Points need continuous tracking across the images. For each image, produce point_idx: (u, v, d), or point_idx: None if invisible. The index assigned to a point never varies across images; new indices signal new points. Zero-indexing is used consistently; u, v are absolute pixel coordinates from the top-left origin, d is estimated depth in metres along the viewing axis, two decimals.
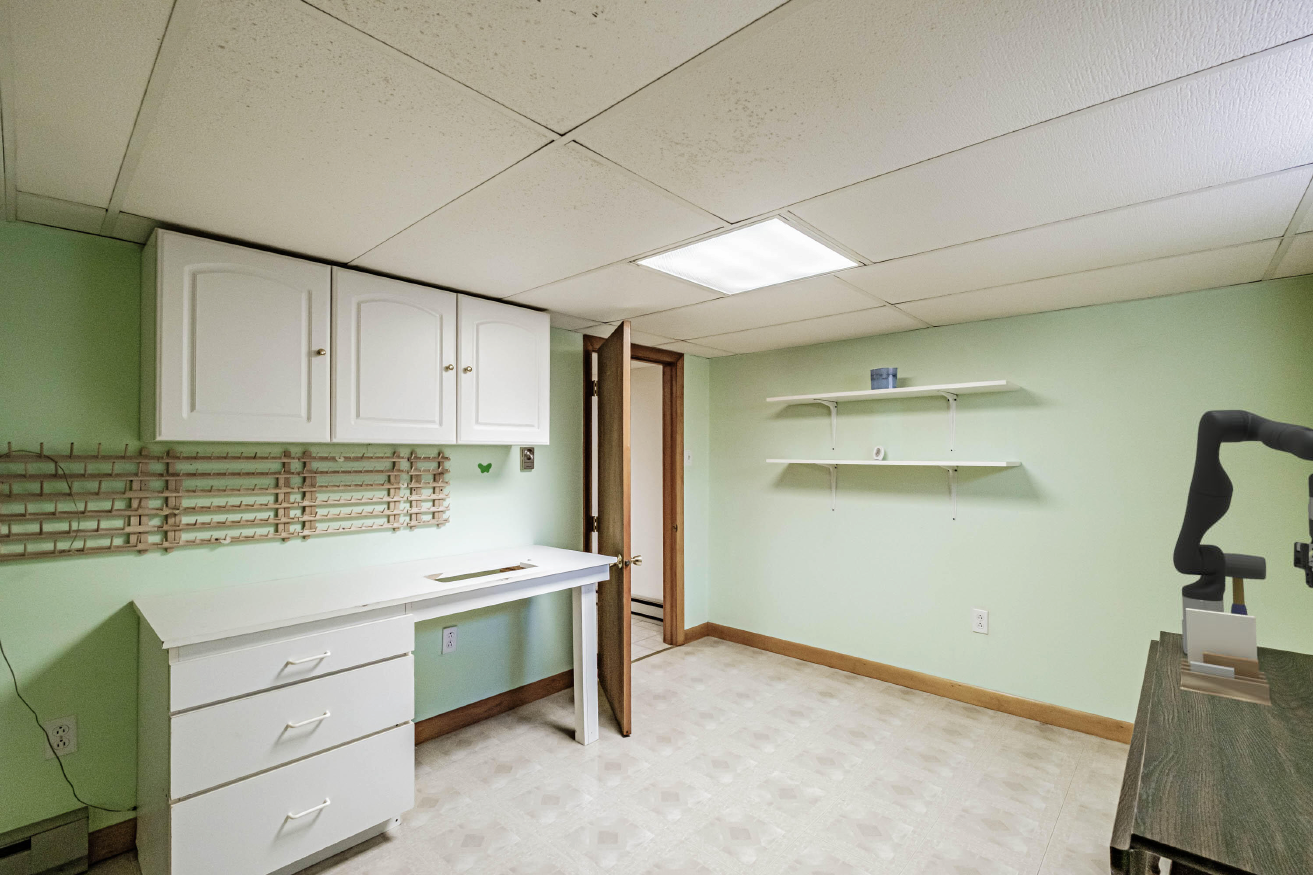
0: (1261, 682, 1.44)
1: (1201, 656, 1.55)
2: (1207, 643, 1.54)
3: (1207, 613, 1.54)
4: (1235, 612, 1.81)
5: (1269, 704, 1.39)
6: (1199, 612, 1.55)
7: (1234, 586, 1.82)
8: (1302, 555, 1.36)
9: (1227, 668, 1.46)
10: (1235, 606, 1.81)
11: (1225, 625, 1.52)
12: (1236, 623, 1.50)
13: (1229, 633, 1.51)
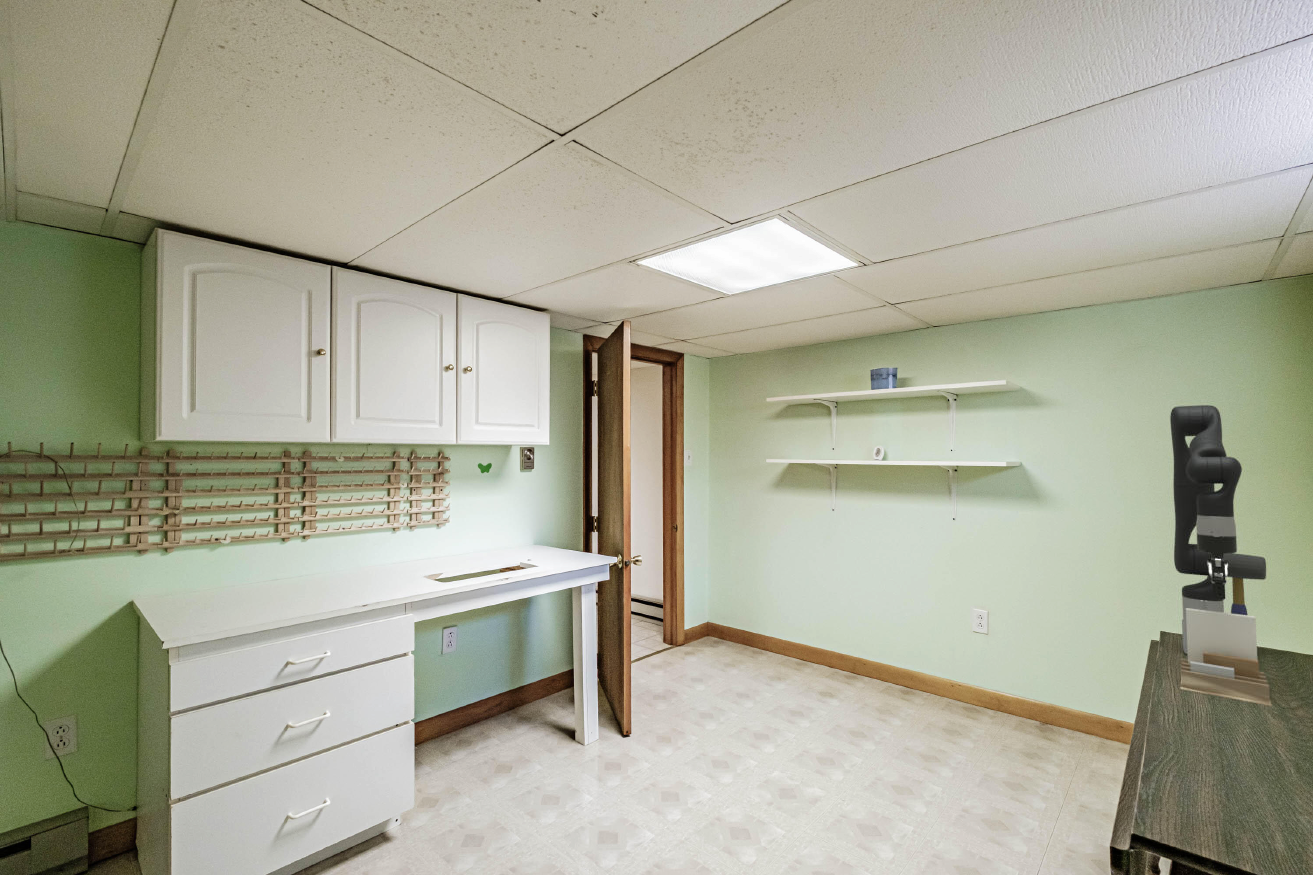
0: (1261, 682, 1.44)
1: (1201, 656, 1.55)
2: (1207, 643, 1.54)
3: (1207, 613, 1.54)
4: (1235, 612, 1.81)
5: (1269, 704, 1.39)
6: (1199, 612, 1.55)
7: (1234, 586, 1.82)
8: (1225, 571, 1.48)
9: (1227, 668, 1.46)
10: (1235, 606, 1.81)
11: (1225, 625, 1.52)
12: (1236, 623, 1.50)
13: (1229, 633, 1.51)
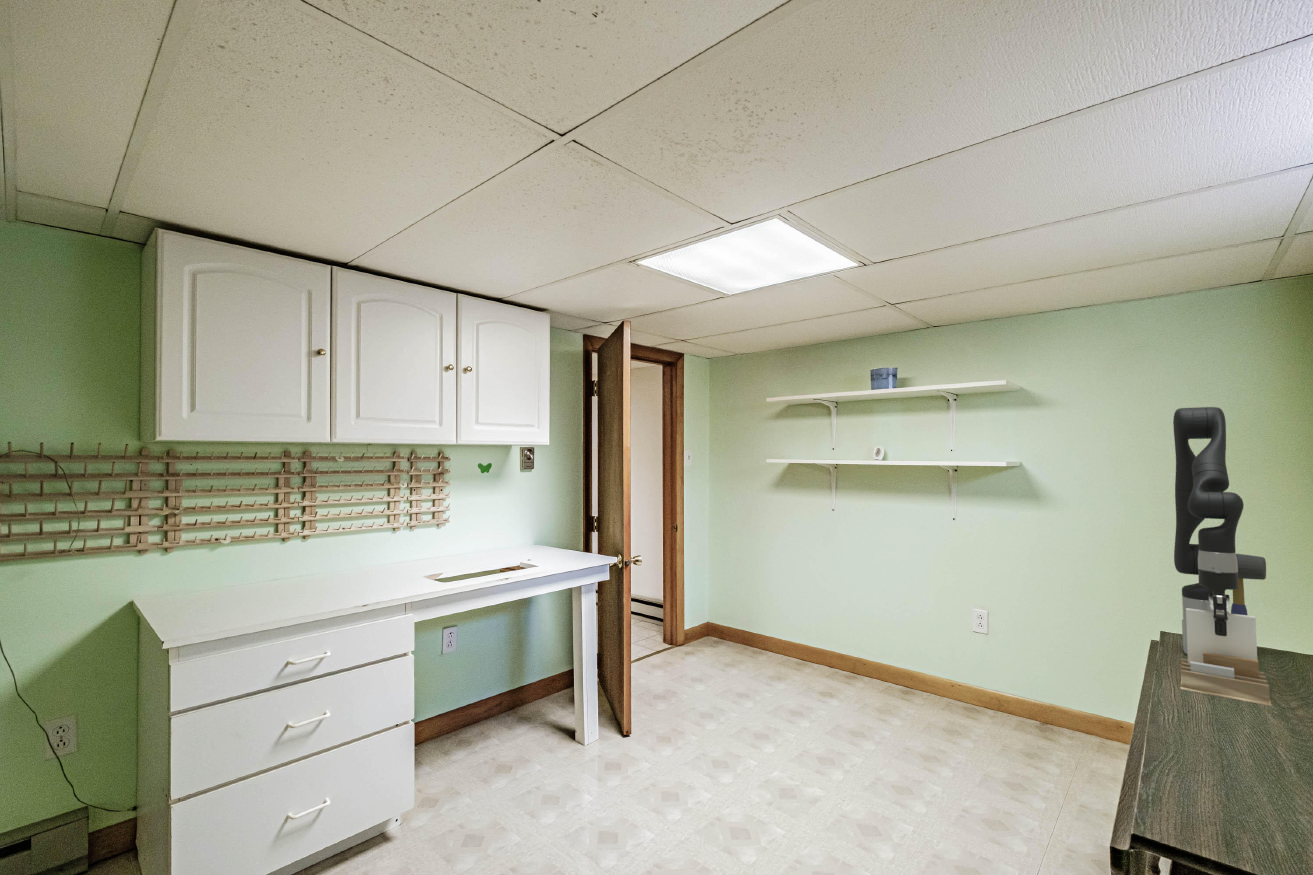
0: (1261, 682, 1.44)
1: (1201, 656, 1.55)
2: (1207, 643, 1.54)
3: (1207, 613, 1.54)
4: (1235, 612, 1.81)
5: (1269, 704, 1.39)
6: (1199, 612, 1.55)
7: None
8: (1226, 608, 1.47)
9: (1227, 668, 1.46)
10: (1235, 606, 1.81)
11: None
12: (1236, 623, 1.50)
13: (1229, 633, 1.51)
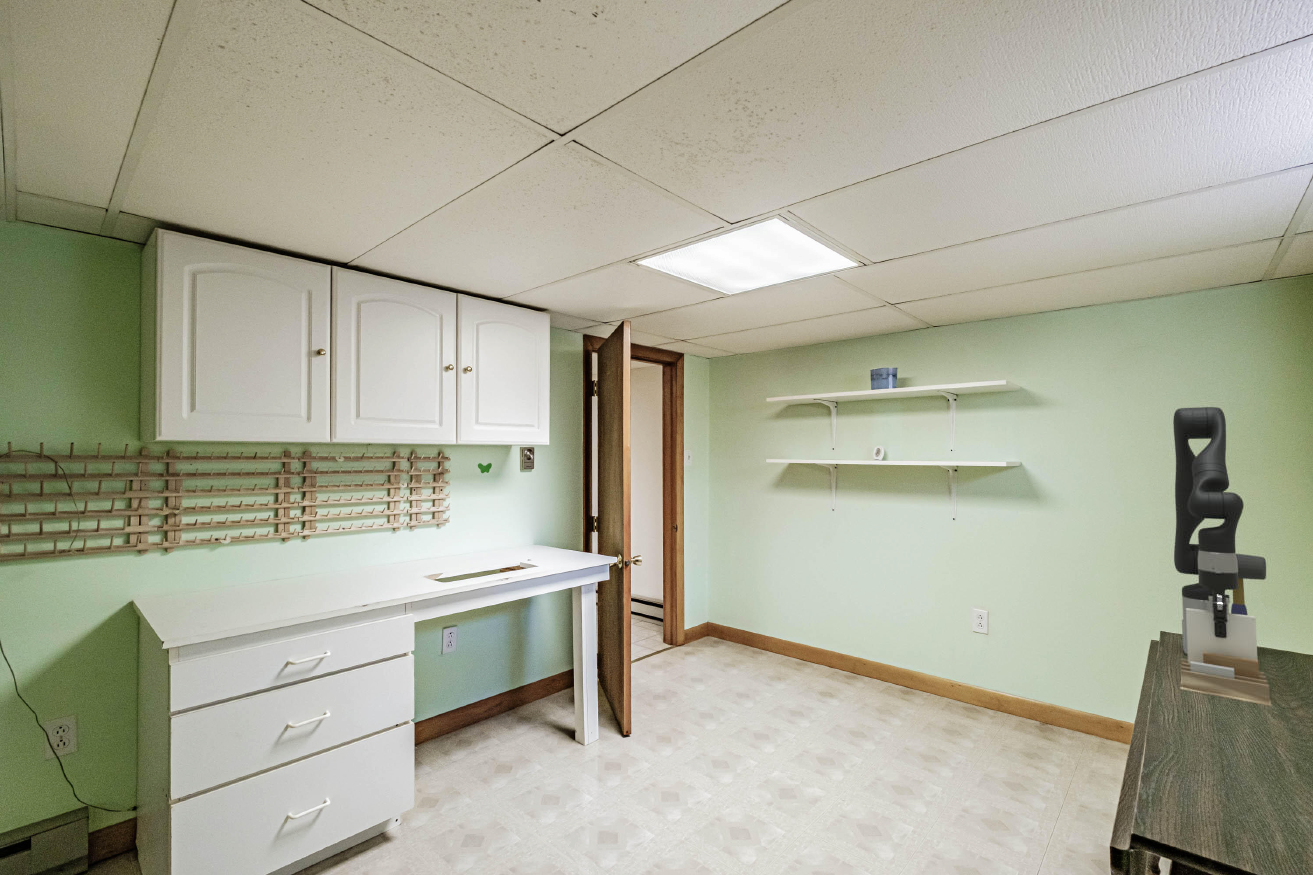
0: (1261, 682, 1.44)
1: (1201, 656, 1.55)
2: (1207, 643, 1.54)
3: (1207, 613, 1.54)
4: (1235, 612, 1.81)
5: (1269, 704, 1.39)
6: (1199, 612, 1.55)
7: None
8: (1226, 614, 1.49)
9: (1227, 668, 1.46)
10: (1235, 606, 1.81)
11: None
12: (1236, 623, 1.50)
13: (1229, 633, 1.51)
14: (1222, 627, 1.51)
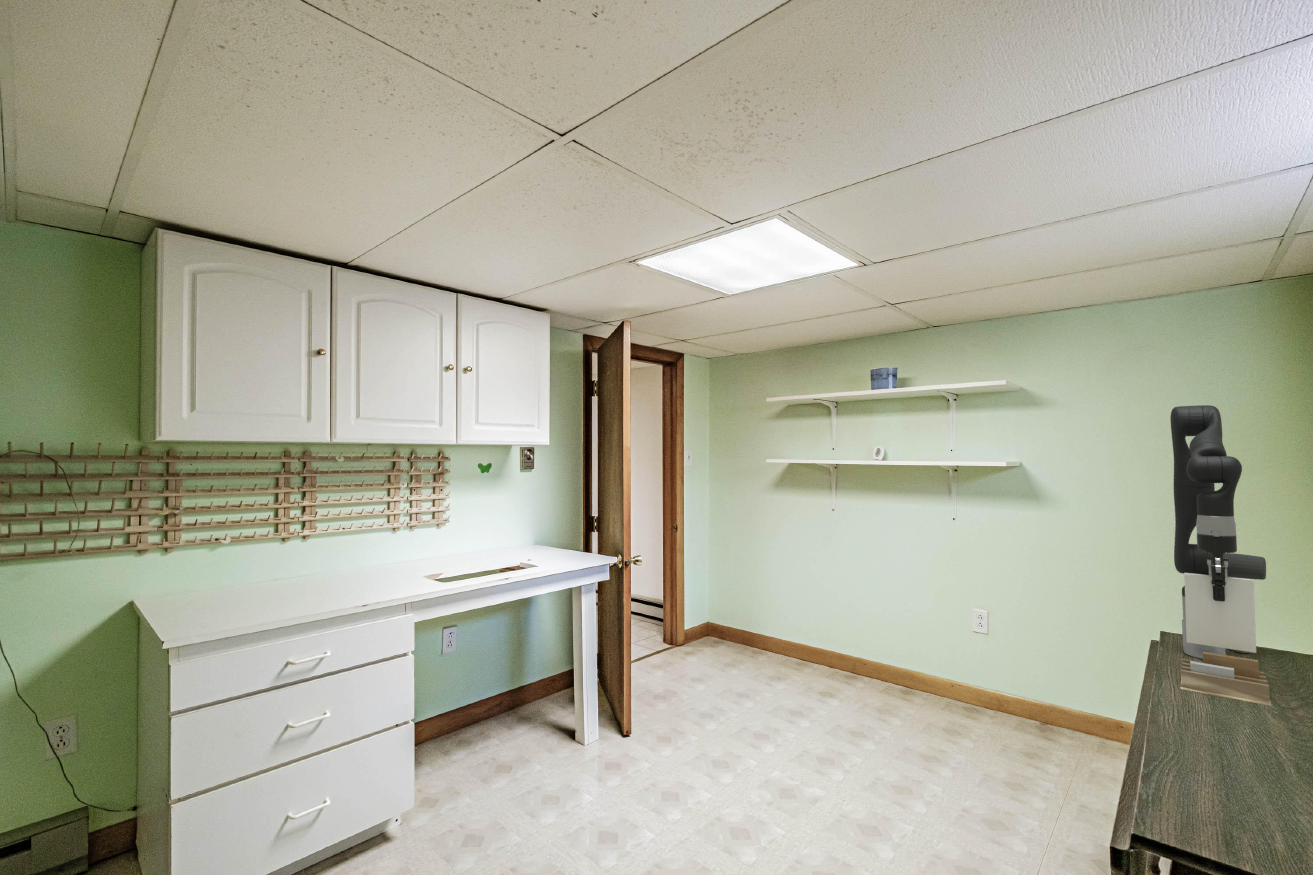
0: (1261, 682, 1.44)
1: (1199, 620, 1.55)
2: (1205, 607, 1.54)
3: (1205, 577, 1.55)
4: None
5: (1269, 704, 1.39)
6: (1197, 576, 1.56)
7: None
8: (1225, 576, 1.49)
9: (1227, 668, 1.46)
10: None
11: None
12: (1234, 586, 1.51)
13: (1227, 597, 1.52)
14: (1220, 590, 1.52)
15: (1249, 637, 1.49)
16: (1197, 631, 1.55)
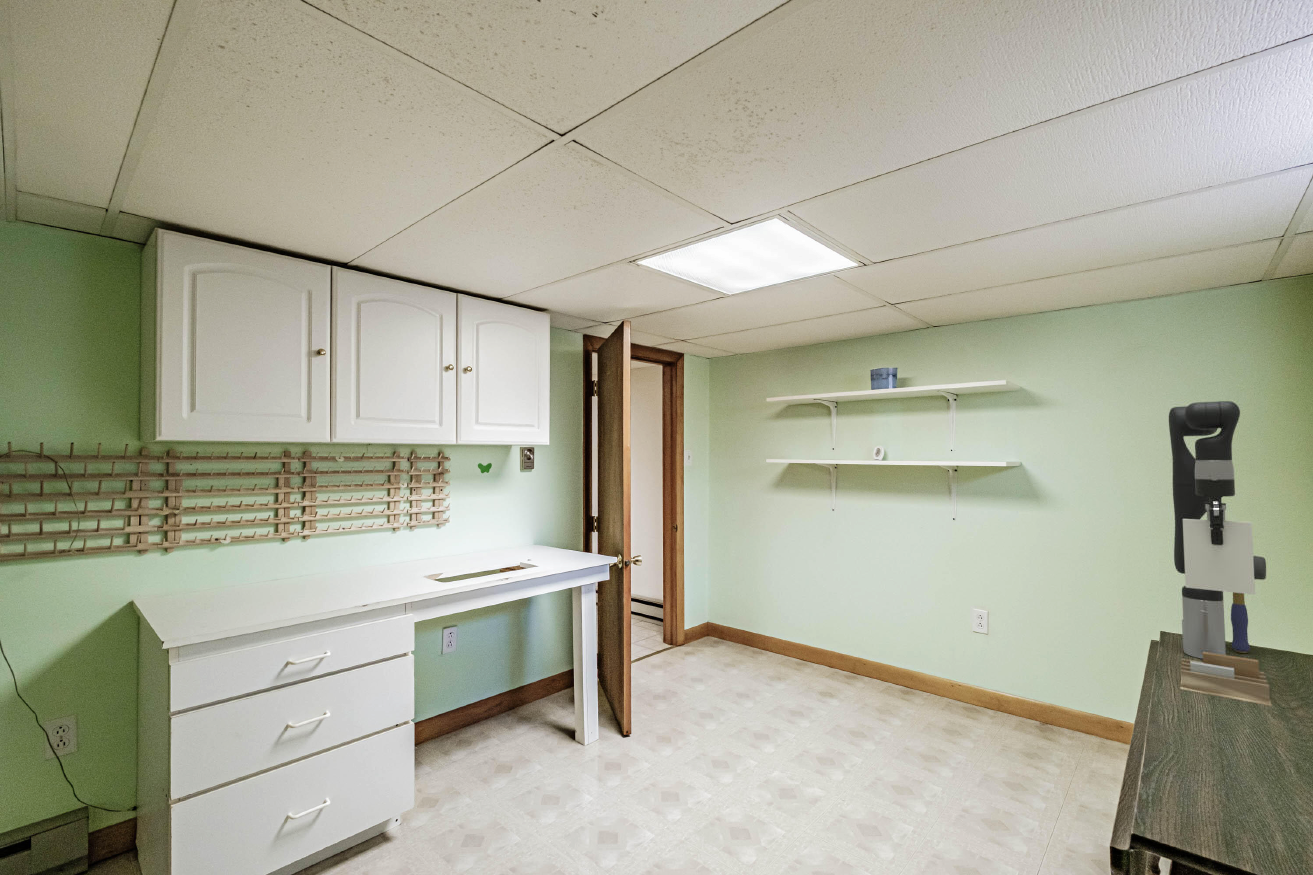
0: (1261, 682, 1.44)
1: (1198, 564, 1.56)
2: (1204, 551, 1.55)
3: (1204, 521, 1.55)
4: (1235, 612, 1.81)
5: (1269, 704, 1.39)
6: (1196, 521, 1.56)
7: None
8: (1223, 519, 1.50)
9: (1227, 668, 1.46)
10: (1235, 606, 1.81)
11: None
12: (1232, 529, 1.52)
13: (1226, 540, 1.52)
14: (1218, 534, 1.52)
15: (1248, 579, 1.50)
16: (1196, 576, 1.56)
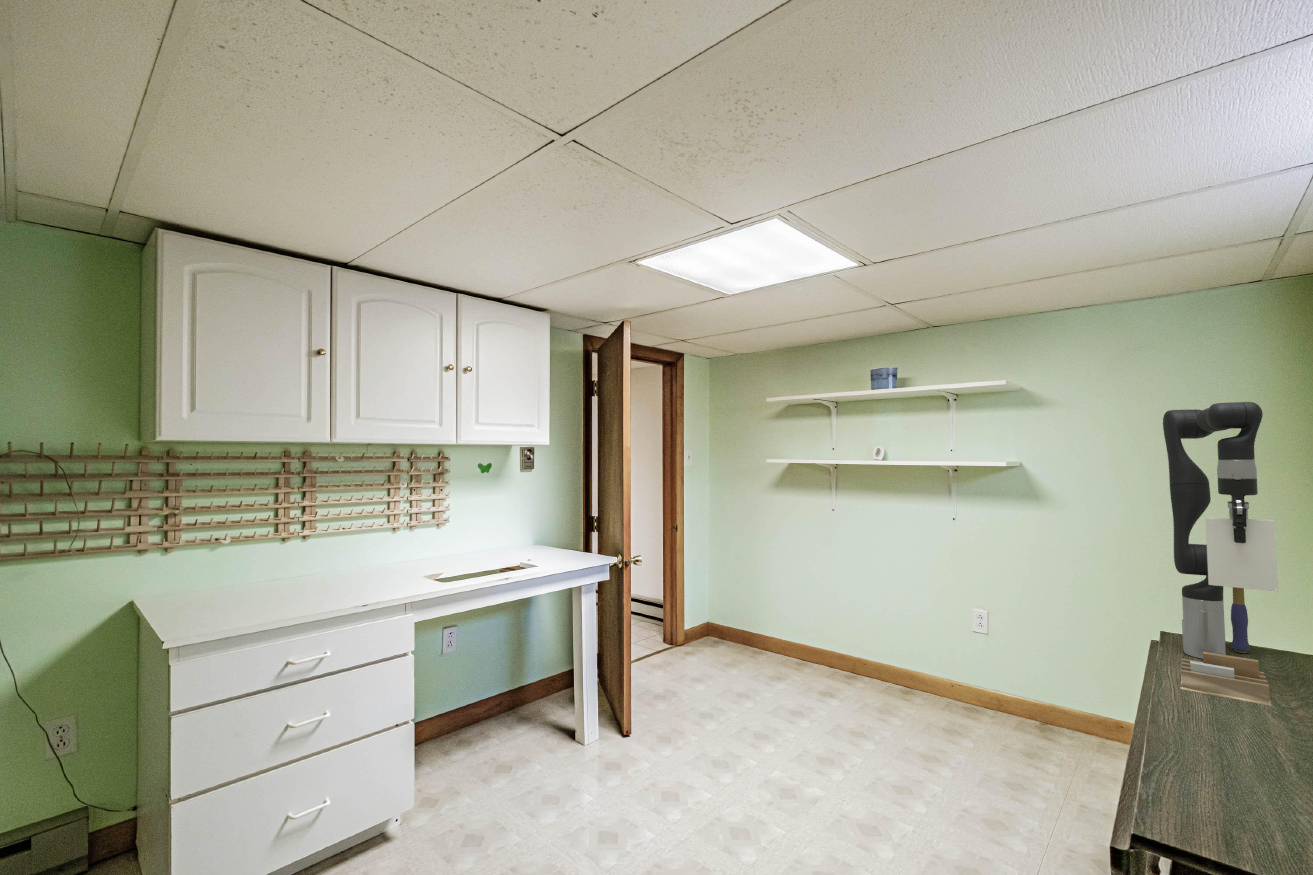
0: (1261, 682, 1.44)
1: (1221, 562, 1.59)
2: (1227, 549, 1.58)
3: (1226, 520, 1.58)
4: (1235, 612, 1.81)
5: (1269, 704, 1.39)
6: (1219, 519, 1.59)
7: None
8: (1246, 518, 1.53)
9: (1227, 668, 1.46)
10: (1235, 606, 1.81)
11: None
12: (1255, 527, 1.54)
13: (1249, 538, 1.55)
14: (1241, 532, 1.55)
15: (1271, 576, 1.52)
16: (1219, 573, 1.59)
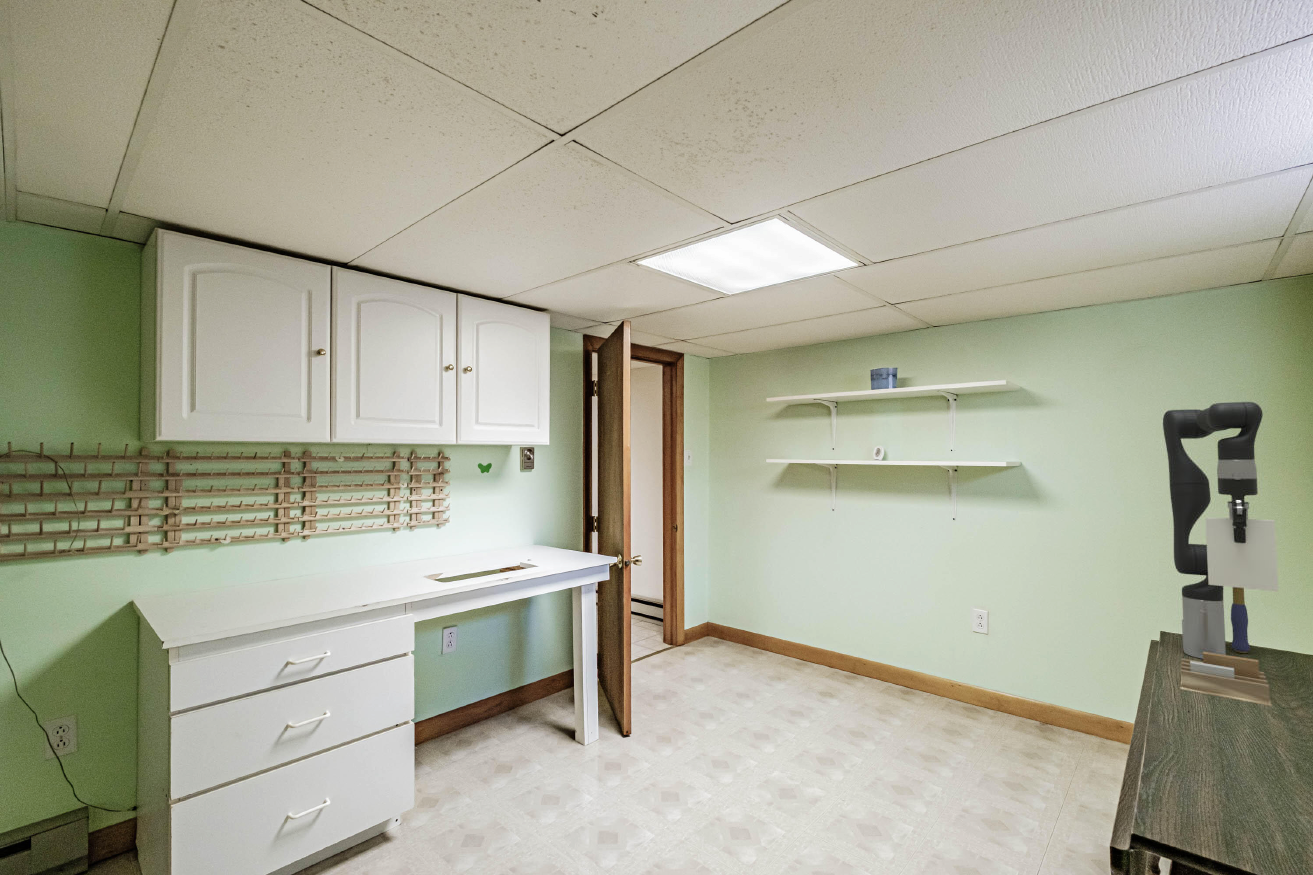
0: (1261, 682, 1.44)
1: (1221, 562, 1.59)
2: (1227, 549, 1.58)
3: (1226, 520, 1.58)
4: (1235, 612, 1.81)
5: (1269, 704, 1.39)
6: (1219, 519, 1.59)
7: None
8: (1246, 518, 1.53)
9: (1227, 668, 1.46)
10: (1235, 606, 1.81)
11: None
12: (1255, 527, 1.54)
13: (1249, 538, 1.55)
14: (1241, 532, 1.55)
15: (1271, 576, 1.52)
16: (1219, 573, 1.59)
